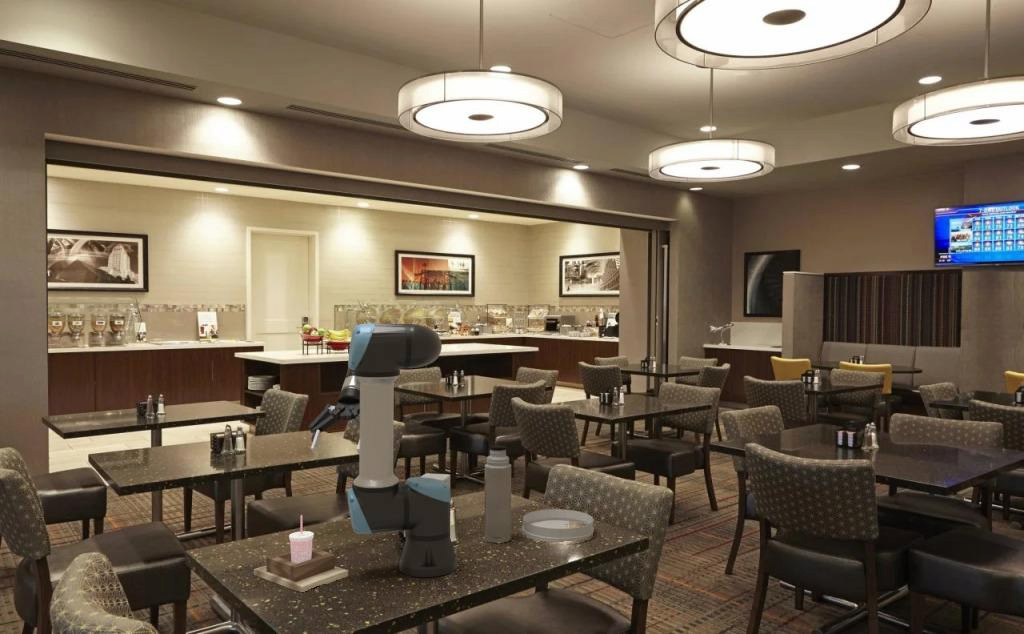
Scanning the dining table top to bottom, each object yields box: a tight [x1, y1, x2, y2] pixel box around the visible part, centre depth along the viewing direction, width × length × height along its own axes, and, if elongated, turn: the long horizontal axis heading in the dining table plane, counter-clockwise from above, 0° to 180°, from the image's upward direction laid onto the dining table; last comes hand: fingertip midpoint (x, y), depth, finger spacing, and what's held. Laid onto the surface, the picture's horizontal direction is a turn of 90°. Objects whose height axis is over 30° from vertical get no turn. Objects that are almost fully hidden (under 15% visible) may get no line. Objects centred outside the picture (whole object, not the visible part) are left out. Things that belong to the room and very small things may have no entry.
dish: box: [521, 508, 595, 542], centre depth 217 cm, size 22×22×5 cm
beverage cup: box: [288, 514, 315, 564], centre depth 181 cm, size 6×6×14 cm
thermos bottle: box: [484, 444, 512, 543], centre depth 211 cm, size 8×8×28 cm
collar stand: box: [253, 547, 349, 593], centre depth 181 cm, size 20×14×5 cm
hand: (336, 451), depth 203 cm, fingers open, 13 cm apart
